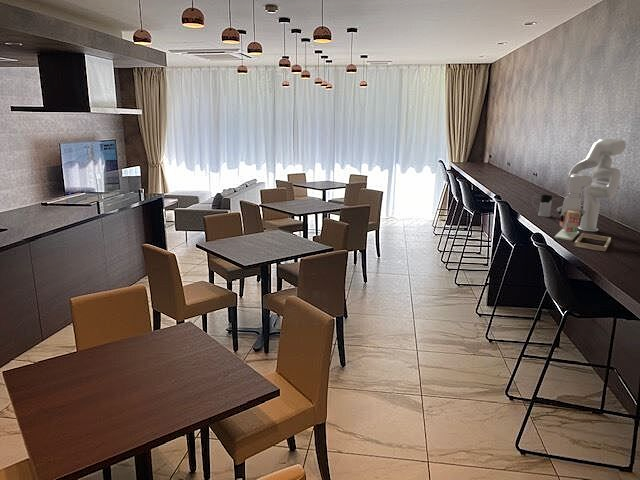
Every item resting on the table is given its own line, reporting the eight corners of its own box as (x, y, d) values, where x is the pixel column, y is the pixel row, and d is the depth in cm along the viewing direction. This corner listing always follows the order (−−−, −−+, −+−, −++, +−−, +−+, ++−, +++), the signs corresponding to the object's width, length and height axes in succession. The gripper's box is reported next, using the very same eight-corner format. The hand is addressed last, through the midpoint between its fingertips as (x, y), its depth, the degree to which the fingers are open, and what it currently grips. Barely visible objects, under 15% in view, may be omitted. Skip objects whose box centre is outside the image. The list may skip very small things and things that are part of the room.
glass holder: (549, 217, 369) (552, 197, 365) (528, 214, 377) (531, 194, 373) (551, 215, 376) (554, 195, 373) (531, 212, 384) (534, 193, 380)
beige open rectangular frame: (581, 237, 312) (582, 233, 311) (610, 241, 303) (611, 237, 302) (573, 246, 289) (574, 242, 288) (604, 251, 280) (605, 247, 279)
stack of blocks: (558, 224, 325) (562, 205, 322) (569, 225, 324) (572, 206, 321) (566, 231, 305) (569, 211, 302) (577, 232, 303) (581, 212, 300)
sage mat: (562, 230, 328) (562, 228, 328) (578, 232, 323) (579, 231, 322) (554, 237, 307) (554, 236, 307) (572, 240, 302) (572, 239, 302)
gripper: (590, 196, 307) (585, 224, 311) (559, 192, 316) (555, 220, 321) (588, 197, 301) (583, 226, 305) (557, 194, 310) (552, 221, 315)
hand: (568, 222), depth 313 cm, fingers closed on stack of blocks, 7 cm apart
